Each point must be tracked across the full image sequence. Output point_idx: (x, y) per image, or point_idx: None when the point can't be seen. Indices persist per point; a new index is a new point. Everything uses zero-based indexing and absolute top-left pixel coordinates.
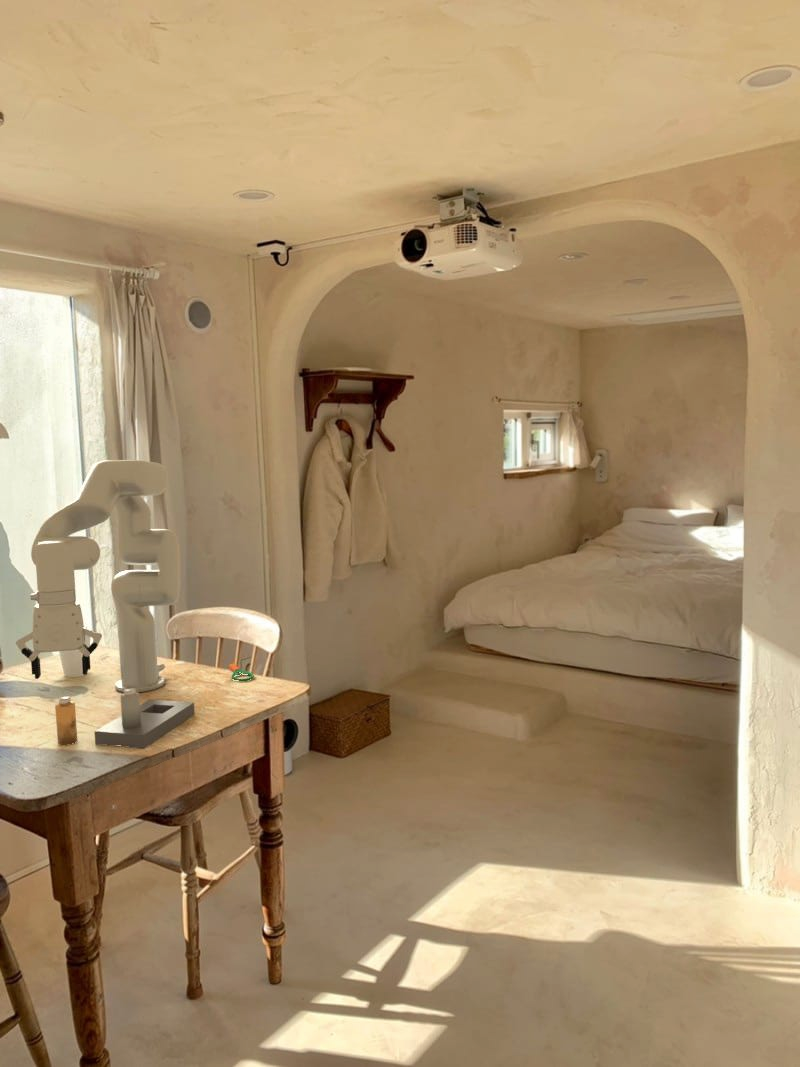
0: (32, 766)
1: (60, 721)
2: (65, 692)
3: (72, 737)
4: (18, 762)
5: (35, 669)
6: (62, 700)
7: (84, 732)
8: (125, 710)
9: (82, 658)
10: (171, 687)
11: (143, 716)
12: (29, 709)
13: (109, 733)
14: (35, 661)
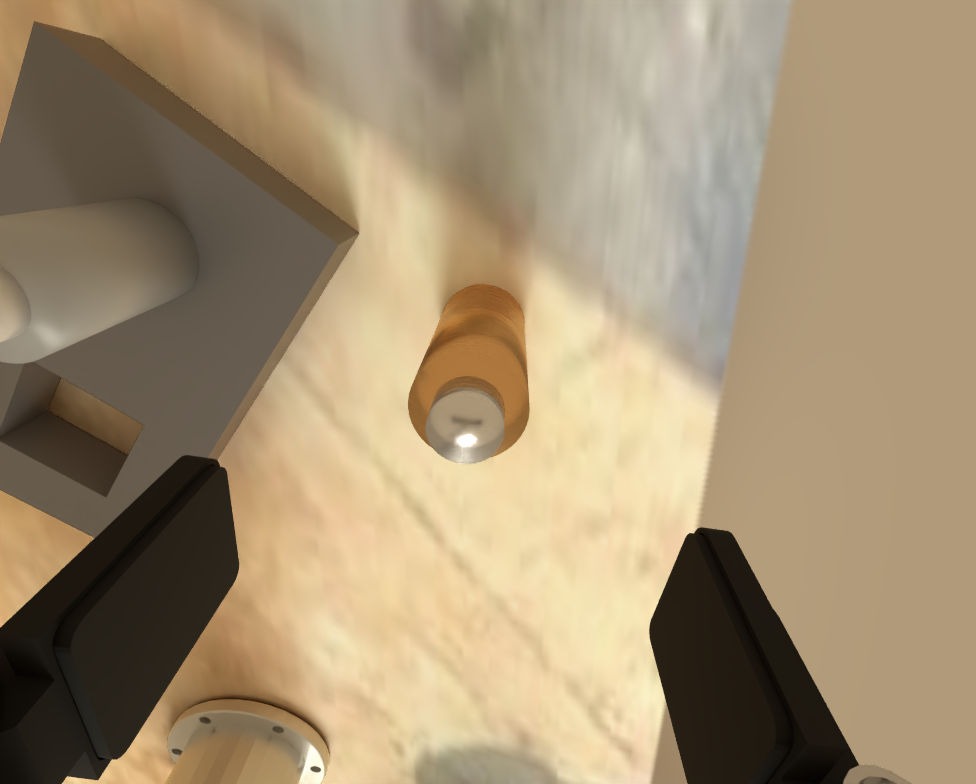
0: (664, 39)
1: (505, 331)
2: (482, 779)
3: (457, 298)
4: (718, 145)
5: (764, 618)
6: (479, 397)
7: None
8: (90, 225)
9: (69, 627)
10: None
11: (117, 359)
12: (598, 702)
13: (257, 183)
14: (819, 737)
